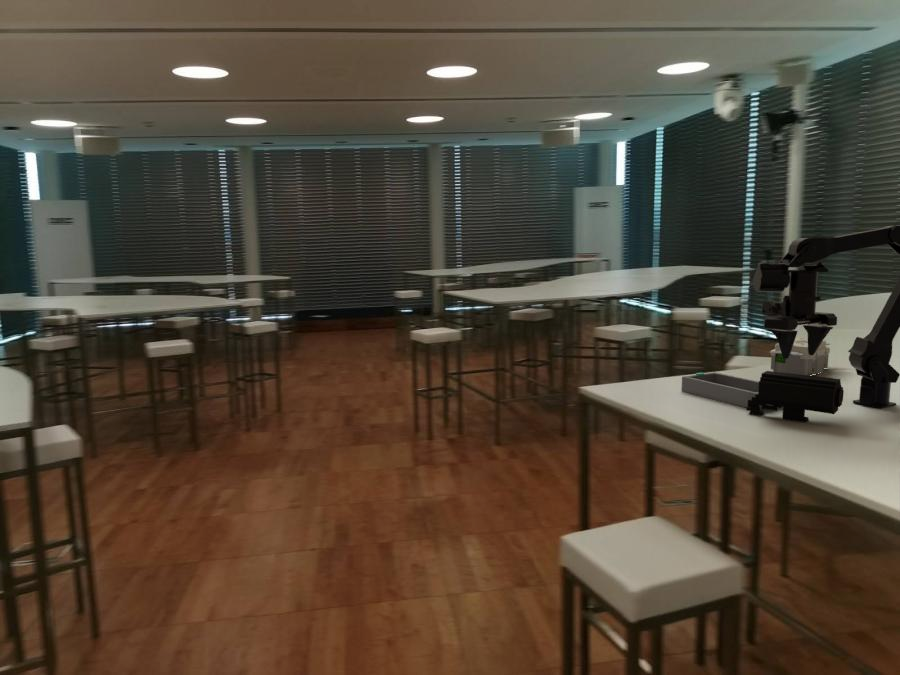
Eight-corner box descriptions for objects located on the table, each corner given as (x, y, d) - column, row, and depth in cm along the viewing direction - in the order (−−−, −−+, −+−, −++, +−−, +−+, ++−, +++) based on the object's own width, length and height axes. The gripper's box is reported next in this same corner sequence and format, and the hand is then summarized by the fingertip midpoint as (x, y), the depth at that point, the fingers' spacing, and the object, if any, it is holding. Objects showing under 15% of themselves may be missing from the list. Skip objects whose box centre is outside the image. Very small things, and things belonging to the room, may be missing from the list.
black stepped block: (752, 409, 148) (755, 368, 146) (842, 423, 135) (846, 378, 134) (742, 415, 143) (744, 372, 141) (835, 430, 130) (838, 383, 129)
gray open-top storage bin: (713, 386, 172) (714, 370, 172) (789, 404, 152) (790, 386, 151) (681, 391, 167) (682, 375, 167) (755, 410, 147) (756, 392, 146)
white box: (760, 379, 180) (762, 345, 179) (793, 366, 200) (795, 335, 199) (805, 385, 172) (807, 350, 171) (834, 370, 192) (837, 338, 191)
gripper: (797, 288, 158) (793, 348, 160) (745, 291, 150) (742, 355, 152) (840, 290, 148) (835, 355, 150) (788, 294, 140) (784, 362, 142)
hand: (798, 356), depth 149 cm, fingers open, 9 cm apart
